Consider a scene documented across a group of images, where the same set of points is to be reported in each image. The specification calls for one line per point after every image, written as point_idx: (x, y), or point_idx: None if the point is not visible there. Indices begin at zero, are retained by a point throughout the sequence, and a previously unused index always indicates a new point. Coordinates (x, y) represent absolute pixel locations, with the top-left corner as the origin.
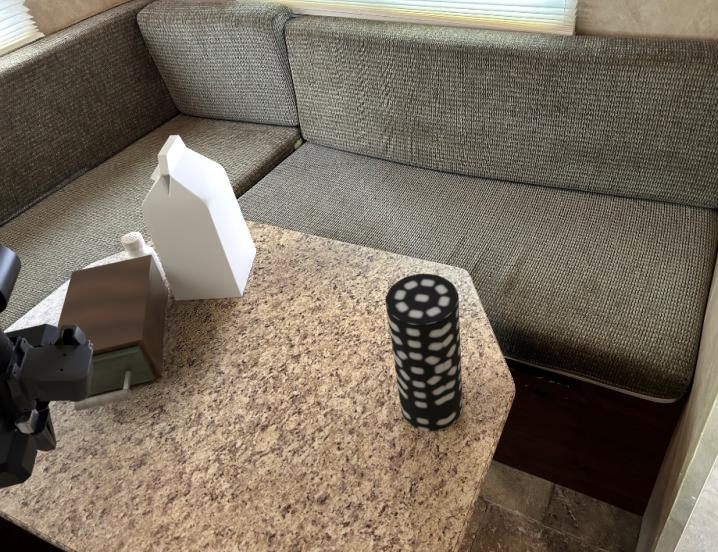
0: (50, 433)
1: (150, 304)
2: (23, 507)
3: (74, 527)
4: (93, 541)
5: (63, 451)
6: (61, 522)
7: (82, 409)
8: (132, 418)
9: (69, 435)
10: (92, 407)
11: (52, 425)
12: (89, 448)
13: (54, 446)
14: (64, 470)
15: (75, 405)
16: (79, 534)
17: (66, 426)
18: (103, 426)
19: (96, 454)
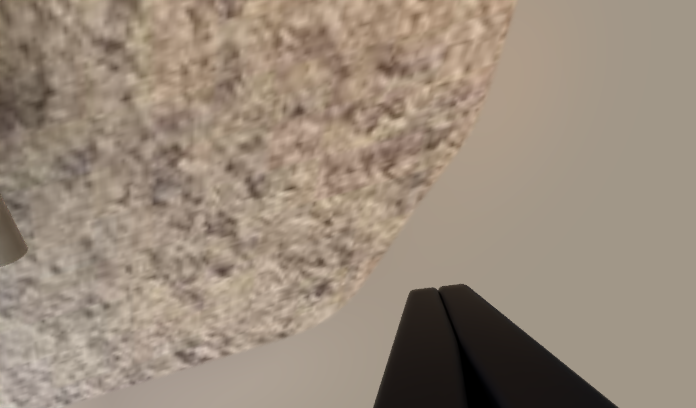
0: (462, 387)
1: None
2: (332, 290)
3: (421, 145)
4: (482, 75)
5: (165, 246)
6: (397, 185)
7: (17, 232)
8: (23, 56)
9: (109, 246)
10: (3, 200)
11: (386, 404)
12: (155, 175)
13: (472, 298)
14: (230, 225)
15: (5, 260)
16: (447, 124)
17: (77, 263)
18: (68, 153)
19: (177, 147)
